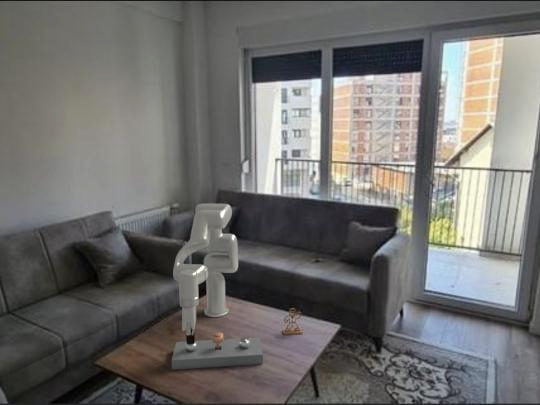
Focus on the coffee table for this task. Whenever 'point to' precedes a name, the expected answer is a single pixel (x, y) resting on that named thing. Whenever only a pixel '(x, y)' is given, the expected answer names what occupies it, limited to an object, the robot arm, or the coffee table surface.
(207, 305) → the robot arm
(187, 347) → the knob
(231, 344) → the knob panel
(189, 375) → the coffee table surface
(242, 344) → the knob
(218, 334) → the knob middle
